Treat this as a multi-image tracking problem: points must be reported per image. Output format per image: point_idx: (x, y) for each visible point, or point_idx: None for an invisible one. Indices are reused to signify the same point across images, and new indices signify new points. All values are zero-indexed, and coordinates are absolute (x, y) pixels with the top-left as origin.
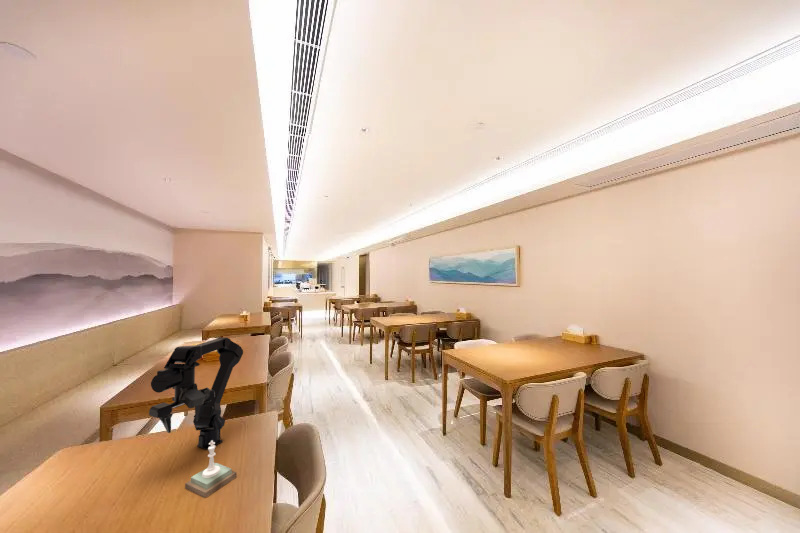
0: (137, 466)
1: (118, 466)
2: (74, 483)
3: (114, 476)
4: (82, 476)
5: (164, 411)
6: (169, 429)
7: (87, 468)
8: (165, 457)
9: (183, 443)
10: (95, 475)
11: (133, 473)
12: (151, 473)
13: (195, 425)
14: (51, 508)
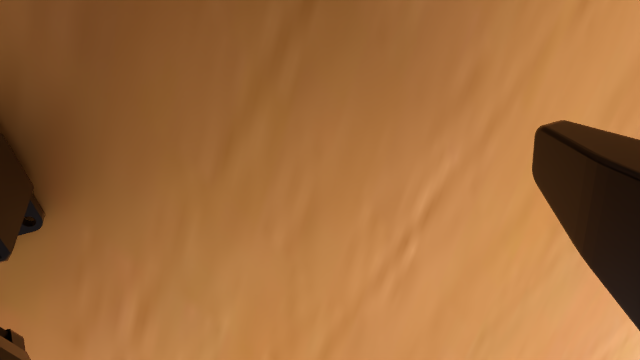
0: (425, 224)
1: (474, 291)
2: None
3: (533, 201)
4: (586, 303)
5: None
6: (623, 145)
7: (542, 356)
8: (277, 215)
9: (131, 324)
10: (562, 275)
11: (472, 155)
12: (416, 57)
13: (20, 355)
14: None
